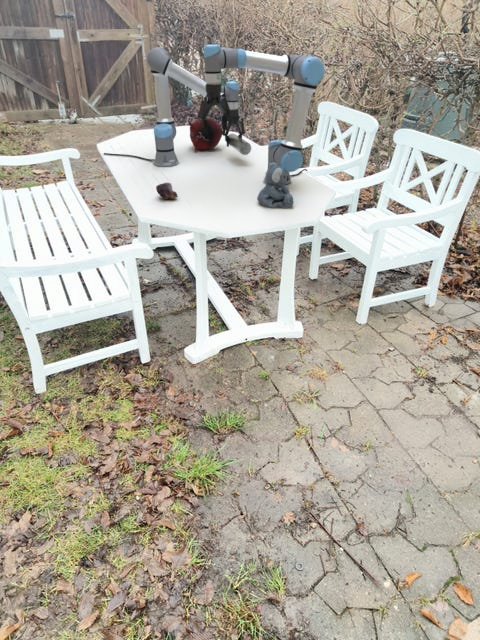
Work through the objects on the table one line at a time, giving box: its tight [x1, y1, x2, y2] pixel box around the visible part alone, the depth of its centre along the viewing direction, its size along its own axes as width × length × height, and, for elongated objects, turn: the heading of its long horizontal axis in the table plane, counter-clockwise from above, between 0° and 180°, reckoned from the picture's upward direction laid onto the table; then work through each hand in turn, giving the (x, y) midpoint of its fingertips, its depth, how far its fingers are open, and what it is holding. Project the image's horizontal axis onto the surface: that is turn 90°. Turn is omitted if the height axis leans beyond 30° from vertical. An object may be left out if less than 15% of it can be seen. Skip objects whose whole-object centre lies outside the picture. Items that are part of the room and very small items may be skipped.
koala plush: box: [256, 163, 294, 209], centre depth 226 cm, size 17×18×20 cm
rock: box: [155, 182, 178, 200], centre depth 237 cm, size 12×9×10 cm
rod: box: [228, 132, 252, 156], centre depth 292 cm, size 27×8×8 cm, turn 19°
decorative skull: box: [187, 117, 223, 153], centre depth 321 cm, size 21×24×25 cm
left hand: (233, 145), depth 302 cm, fingers closed on rod, 8 cm apart
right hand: (215, 131), depth 222 cm, fingers open, 13 cm apart
